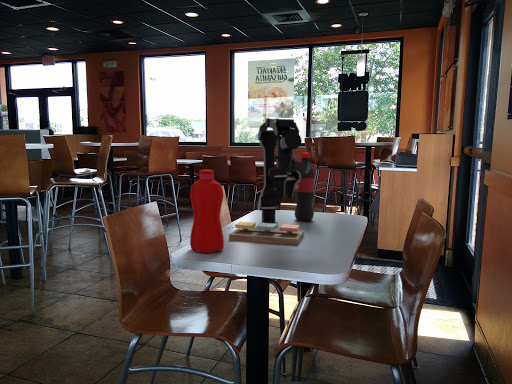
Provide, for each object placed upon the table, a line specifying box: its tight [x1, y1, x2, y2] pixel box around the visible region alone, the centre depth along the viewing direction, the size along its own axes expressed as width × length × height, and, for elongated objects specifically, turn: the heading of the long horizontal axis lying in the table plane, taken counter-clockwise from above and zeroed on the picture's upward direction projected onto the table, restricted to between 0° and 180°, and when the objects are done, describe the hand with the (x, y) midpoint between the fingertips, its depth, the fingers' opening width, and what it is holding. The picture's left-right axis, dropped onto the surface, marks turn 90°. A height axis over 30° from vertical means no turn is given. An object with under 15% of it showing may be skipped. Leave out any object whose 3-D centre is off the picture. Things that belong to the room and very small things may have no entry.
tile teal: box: [256, 222, 278, 233], centre depth 138 cm, size 6×6×3 cm
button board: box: [228, 226, 305, 246], centre depth 138 cm, size 14×24×2 cm, turn 75°
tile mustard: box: [234, 221, 257, 232], centre depth 140 cm, size 6×6×3 cm
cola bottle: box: [294, 151, 316, 222], centre depth 171 cm, size 8×8×30 cm
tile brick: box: [279, 223, 301, 235], centre depth 136 cm, size 6×6×3 cm
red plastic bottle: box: [189, 169, 225, 254], centre depth 120 cm, size 9×11×25 cm
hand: (286, 198), depth 134 cm, fingers open, 9 cm apart
